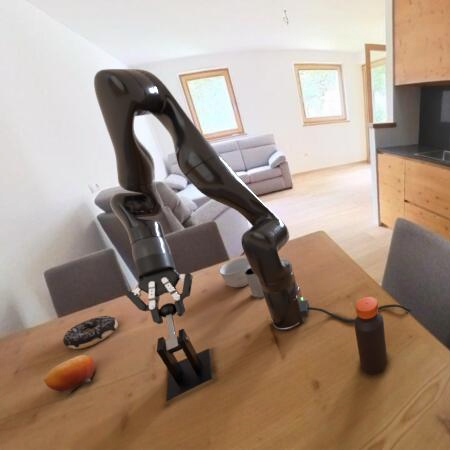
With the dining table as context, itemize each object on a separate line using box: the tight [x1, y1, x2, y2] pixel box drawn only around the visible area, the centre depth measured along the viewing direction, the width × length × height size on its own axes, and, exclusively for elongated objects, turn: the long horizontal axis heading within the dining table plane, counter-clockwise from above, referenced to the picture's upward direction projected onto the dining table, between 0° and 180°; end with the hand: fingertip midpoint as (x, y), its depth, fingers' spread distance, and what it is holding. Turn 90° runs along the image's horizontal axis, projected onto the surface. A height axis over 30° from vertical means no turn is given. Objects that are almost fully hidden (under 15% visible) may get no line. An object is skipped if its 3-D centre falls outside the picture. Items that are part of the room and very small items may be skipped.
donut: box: [62, 315, 119, 350], centre depth 83 cm, size 11×12×4 cm
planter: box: [245, 268, 264, 300], centre depth 95 cm, size 4×4×10 cm
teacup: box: [219, 254, 251, 288], centre depth 104 cm, size 14×11×8 cm
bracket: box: [156, 328, 213, 402], centre depth 68 cm, size 11×9×13 cm
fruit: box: [43, 354, 95, 394], centre depth 69 cm, size 8×8×8 cm
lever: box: [159, 302, 183, 354], centre depth 68 cm, size 13×4×4 cm, turn 37°
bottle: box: [353, 296, 388, 376], centre depth 66 cm, size 7×7×20 cm
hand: (170, 319), depth 70 cm, fingers closed on lever, 3 cm apart
